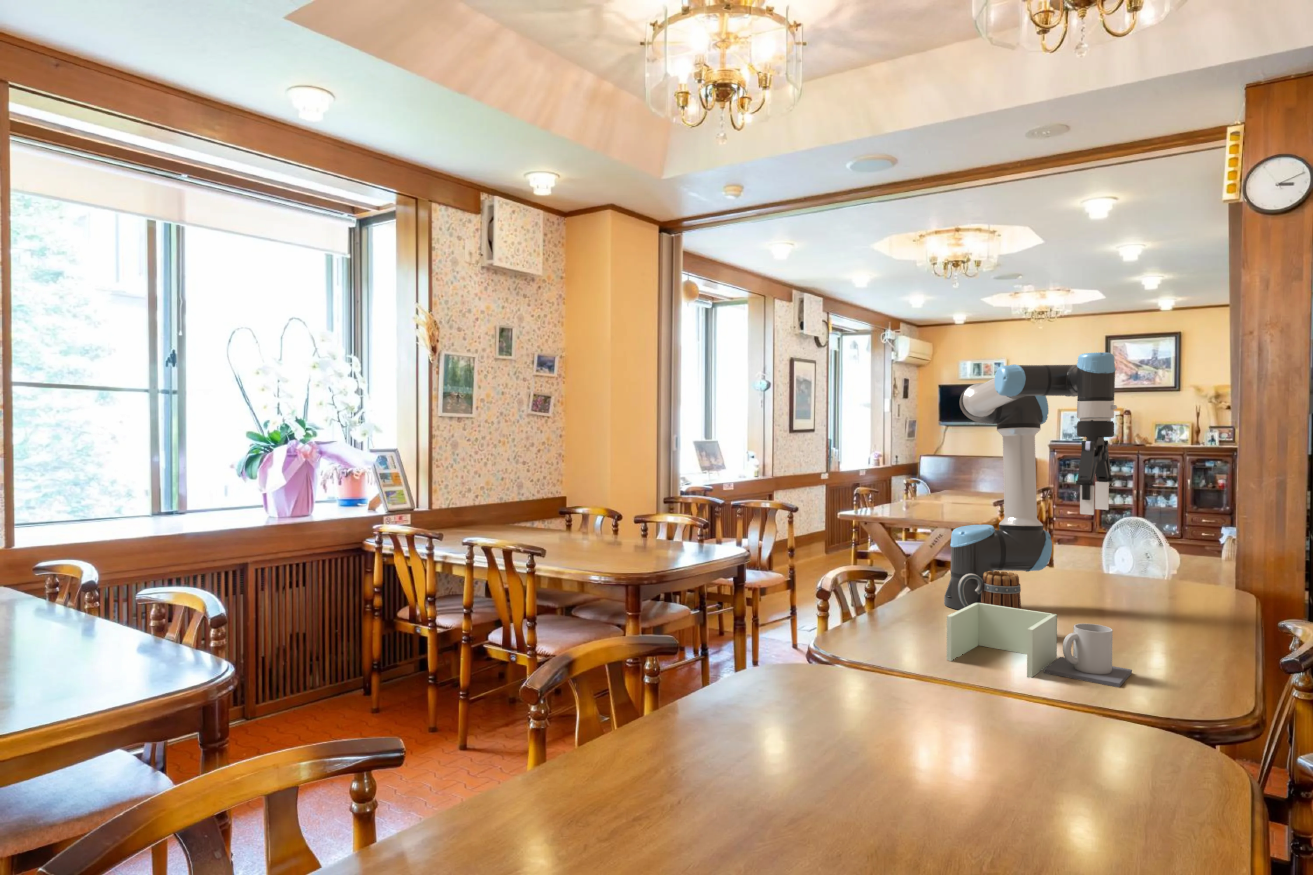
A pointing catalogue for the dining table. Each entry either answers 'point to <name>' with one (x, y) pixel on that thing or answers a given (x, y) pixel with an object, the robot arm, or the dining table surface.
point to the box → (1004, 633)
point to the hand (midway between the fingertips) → (1094, 511)
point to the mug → (995, 589)
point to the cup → (1090, 648)
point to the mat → (1068, 670)
